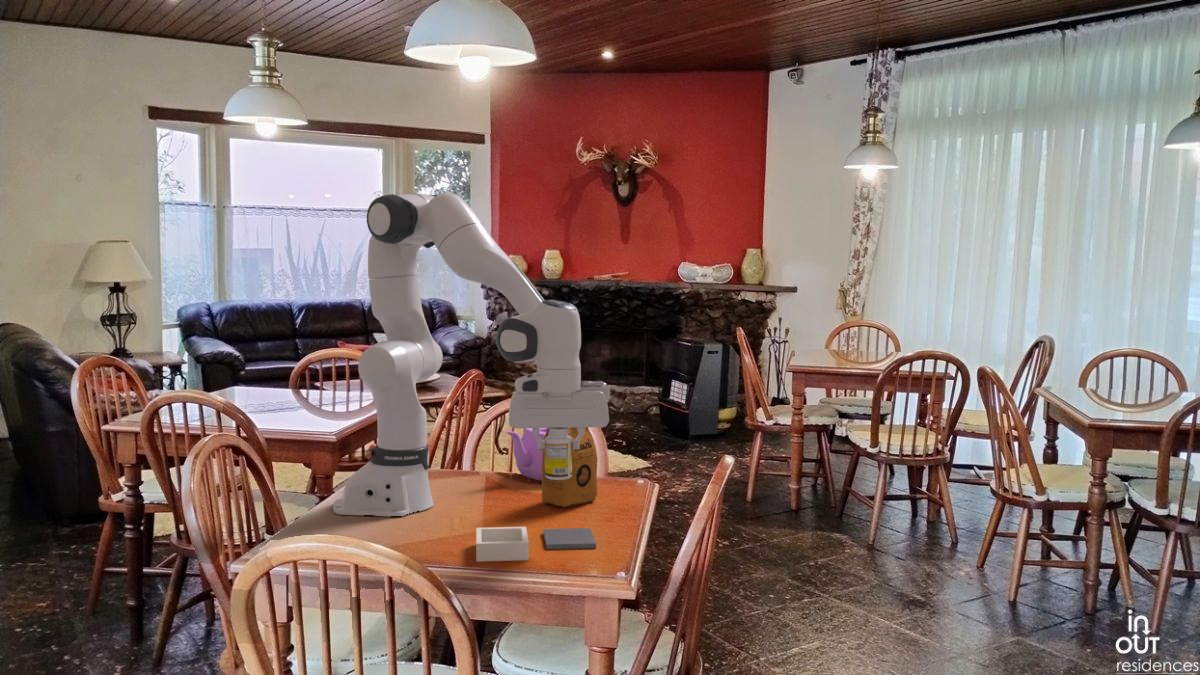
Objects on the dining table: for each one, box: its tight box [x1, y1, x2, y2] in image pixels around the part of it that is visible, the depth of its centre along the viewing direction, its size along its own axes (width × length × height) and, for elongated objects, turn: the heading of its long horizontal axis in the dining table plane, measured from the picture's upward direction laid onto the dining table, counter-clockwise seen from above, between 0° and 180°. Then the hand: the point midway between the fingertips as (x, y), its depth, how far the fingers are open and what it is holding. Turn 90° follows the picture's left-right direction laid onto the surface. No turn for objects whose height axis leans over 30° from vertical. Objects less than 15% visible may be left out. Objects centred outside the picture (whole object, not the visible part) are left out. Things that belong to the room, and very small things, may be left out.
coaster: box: [542, 527, 597, 550], centre depth 186 cm, size 10×10×1 cm
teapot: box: [505, 428, 548, 482], centre depth 237 cm, size 23×21×15 cm
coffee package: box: [541, 427, 598, 508], centre depth 213 cm, size 10×12×22 cm
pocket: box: [475, 526, 530, 562], centre depth 178 cm, size 10×10×4 cm
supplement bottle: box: [545, 428, 572, 480], centre depth 182 cm, size 6×6×10 cm
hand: (558, 449), depth 182 cm, fingers closed on supplement bottle, 5 cm apart
